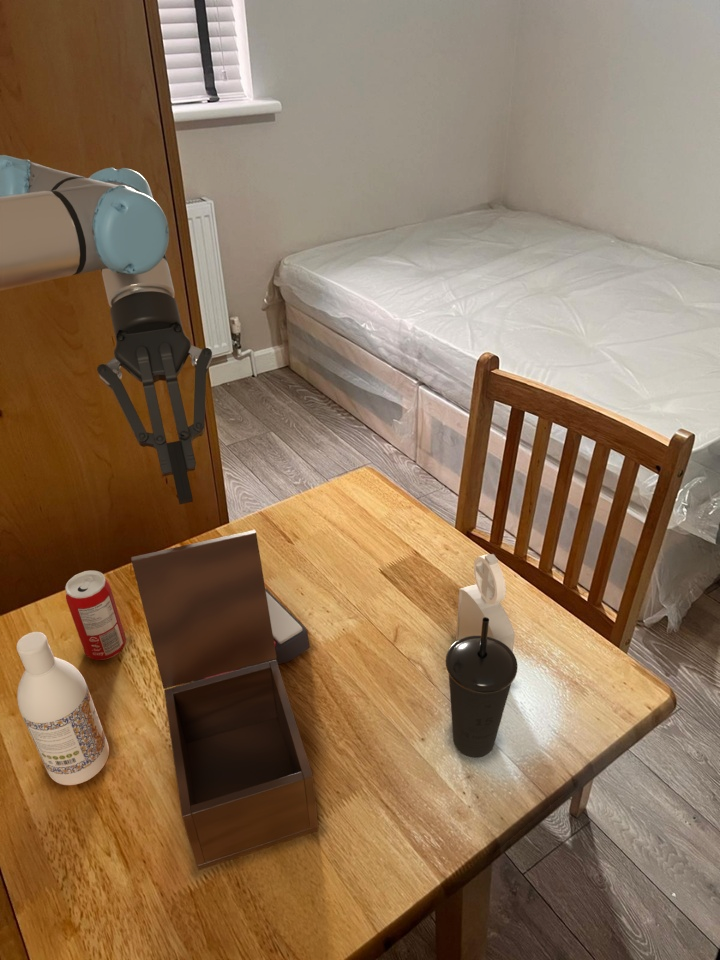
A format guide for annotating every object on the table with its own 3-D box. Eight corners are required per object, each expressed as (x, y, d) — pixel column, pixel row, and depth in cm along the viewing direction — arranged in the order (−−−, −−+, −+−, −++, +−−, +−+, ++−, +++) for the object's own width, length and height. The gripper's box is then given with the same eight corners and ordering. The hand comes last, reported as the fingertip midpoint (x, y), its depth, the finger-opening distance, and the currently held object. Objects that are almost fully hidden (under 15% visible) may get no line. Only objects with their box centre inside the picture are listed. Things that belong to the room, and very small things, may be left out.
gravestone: (473, 634, 100) (483, 531, 90) (507, 685, 93) (522, 580, 82) (455, 639, 99) (462, 536, 89) (488, 692, 92) (500, 586, 82)
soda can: (101, 627, 103) (80, 563, 96) (134, 636, 101) (115, 572, 94) (76, 656, 98) (52, 591, 92) (111, 666, 97) (89, 601, 90)
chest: (318, 830, 78) (312, 775, 72) (197, 871, 74) (182, 816, 69) (283, 714, 90) (276, 659, 84) (178, 744, 87) (163, 689, 81)
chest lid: (256, 532, 77) (254, 529, 77) (131, 560, 73) (131, 556, 74) (276, 658, 84) (275, 654, 84) (163, 689, 80) (162, 684, 81)
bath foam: (116, 770, 84) (73, 650, 73) (54, 798, 81) (-1, 679, 70) (102, 726, 89) (59, 608, 78) (43, 751, 86) (-10, 632, 75)
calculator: (166, 636, 96) (263, 582, 103) (174, 658, 98) (267, 603, 105) (207, 688, 89) (307, 626, 96) (213, 710, 91) (311, 648, 98)
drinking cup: (430, 724, 88) (435, 604, 77) (486, 705, 90) (500, 585, 79) (459, 778, 82) (470, 656, 71) (518, 756, 84) (538, 634, 73)
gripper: (78, 297, 79) (121, 508, 75) (199, 280, 82) (246, 482, 78) (88, 325, 86) (128, 519, 82) (200, 308, 89) (242, 494, 85)
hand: (185, 500), depth 80 cm, fingers closed
